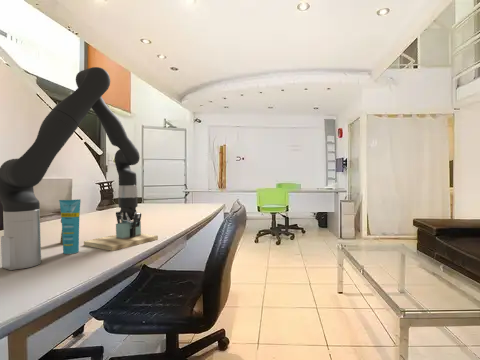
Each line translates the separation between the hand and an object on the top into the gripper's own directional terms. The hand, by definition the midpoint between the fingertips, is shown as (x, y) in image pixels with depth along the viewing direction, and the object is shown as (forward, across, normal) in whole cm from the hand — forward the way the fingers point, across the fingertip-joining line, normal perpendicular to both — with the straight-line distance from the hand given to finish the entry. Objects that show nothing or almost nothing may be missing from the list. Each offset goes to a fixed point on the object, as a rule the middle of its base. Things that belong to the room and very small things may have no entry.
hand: (128, 236), depth 128 cm
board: (+2, 0, -3) cm, 4 cm away
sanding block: (0, 0, 0) cm, 0 cm away
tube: (+2, -2, -23) cm, 23 cm away
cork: (+2, -20, -14) cm, 25 cm away
